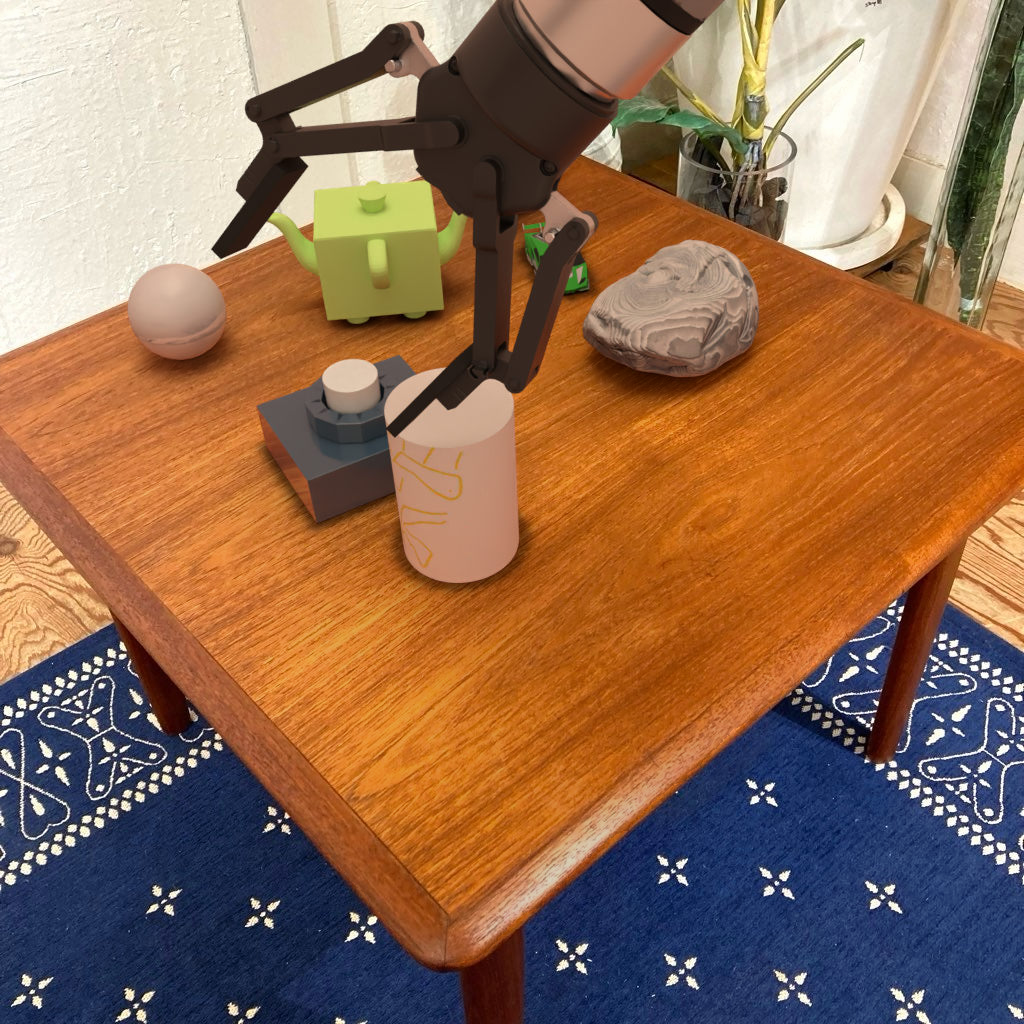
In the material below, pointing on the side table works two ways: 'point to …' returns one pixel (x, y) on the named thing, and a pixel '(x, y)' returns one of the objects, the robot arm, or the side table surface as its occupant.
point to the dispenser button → (351, 386)
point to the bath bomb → (177, 311)
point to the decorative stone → (677, 312)
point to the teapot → (376, 249)
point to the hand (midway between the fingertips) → (315, 338)
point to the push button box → (333, 445)
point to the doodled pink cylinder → (456, 481)
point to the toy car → (537, 248)
